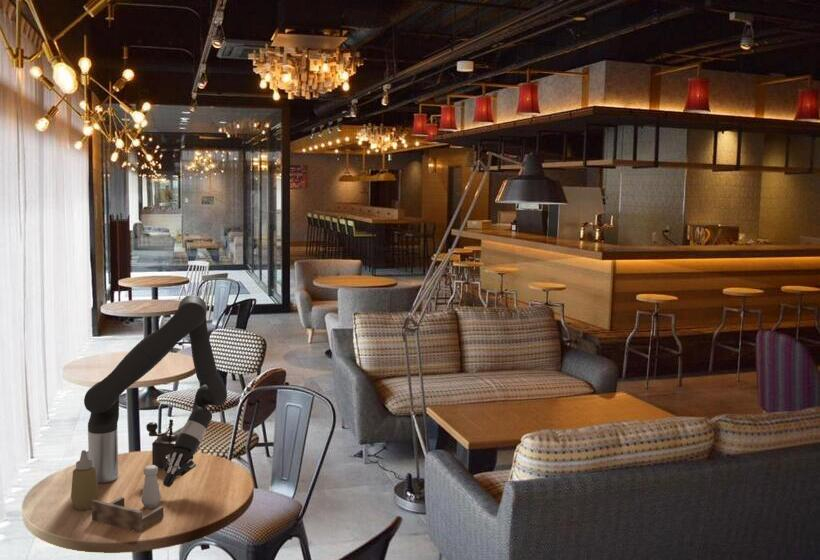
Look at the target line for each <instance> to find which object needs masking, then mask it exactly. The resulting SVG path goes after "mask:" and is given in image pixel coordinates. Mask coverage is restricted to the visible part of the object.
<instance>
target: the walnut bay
mask: <svg viewBox="0 0 820 560" xmlns="http://www.w3.org/2000/svg"><path fill="white" fill-rule="evenodd" d="M163 517H164V506H162V505H161V506H157V507H156V508H154V509H152V511H150V512H148V513H146V514H144V515H143V511H141V510H140V509H139V510H138V509H133V508H131V507H126V506H125V497H124V496H120V497H118V498H116V499H115V500H113V501H111V502H105V501H102V500H98V499H97V500H93V501H92V508H91V521H93V522H94V521H95V522H97V523H100V524H101V523H102V524H107V525H109V526H114V527H116V526H117V527H118V528H121V529H124V530H128V529H129V530H128V531H132V530H134V531H133V532H135V531H137V532H136V533H139V532H140V533H141V532H143V529H145V528H146V526H147V527H149V526H150V525H151V524H154V523H155V522H157V521H158V520H160V519H162V518H163Z"/></svg>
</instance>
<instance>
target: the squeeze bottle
mask: <svg viewBox="0 0 820 560" xmlns="http://www.w3.org/2000/svg"><path fill="white" fill-rule="evenodd" d="M86 452H87V451H86V450H85V449H83V450H81V453H80V457H79V460H78V461H76V462H75V468H74V469H73V470H72V478H71V480H72V481H71V489H70V490H71V491H70V499H71V501H72V504H73V506H74V508H75V509H76V510H80V511H84V510H89V509H92V501H93V500H98V499H99V494H100V493H99V486H98V484H99V483H97V477H96V470H95V468H94V467H92V461H91V460H88V457H87V453H86Z"/></svg>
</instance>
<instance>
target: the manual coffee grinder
mask: <svg viewBox="0 0 820 560" xmlns="http://www.w3.org/2000/svg"><path fill="white" fill-rule="evenodd" d="M168 421H169V423H168V428H167V429H166V430H165V431H164V432H161V433H158V432H157V429H158V428H159V426H158V423H157V422H154V421H152V422H149V423H147V424H146V425H145V427H146V431H147V432H148V436H149V437H156V439H155V440H154V441H153V442H152V444H151V445H152V448H151V450H152V455H151V457H152V460H151V461H152V465H155V466H157V467H158V470H164V469H163V463H162V456H163V455H165V456H166V455H169V454H170V452H171V451H172V450H173V449H174V444H175V442H176V440H177V438H178V436H179V434H180V433H176V432H173V426H174V420H173V419H169V420H168ZM169 463H170V462H169Z"/></svg>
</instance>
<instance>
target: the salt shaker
mask: <svg viewBox="0 0 820 560" xmlns="http://www.w3.org/2000/svg"><path fill="white" fill-rule="evenodd" d="M143 468H144V469H143V475H144V476H145V477H144V484H143V489H142V495H141V504H142V505H143V506H144V509H149V510H154V509H157V508H158V507H159V504H160V502H161V499H162V496H161V490H160V485H159V481H158V477H157V474H159V473H158V472H159V469H158V467H157V466H155V465H153V464H149V465H146V466H144V467H143Z"/></svg>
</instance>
